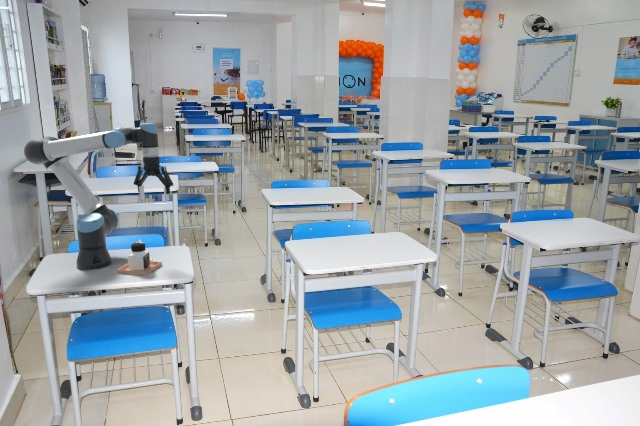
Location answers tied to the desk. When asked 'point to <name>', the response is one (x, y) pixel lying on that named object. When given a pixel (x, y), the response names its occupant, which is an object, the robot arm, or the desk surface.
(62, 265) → the desk surface
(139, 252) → the medicine bottle
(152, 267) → the tray
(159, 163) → the robot arm
